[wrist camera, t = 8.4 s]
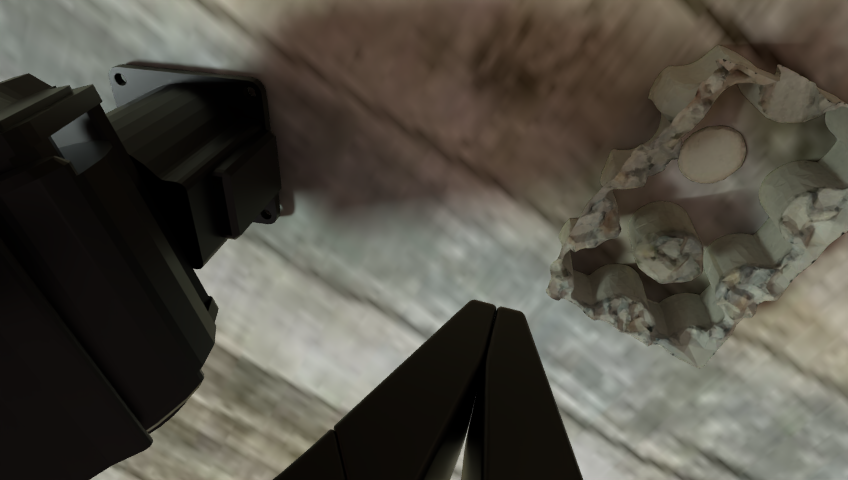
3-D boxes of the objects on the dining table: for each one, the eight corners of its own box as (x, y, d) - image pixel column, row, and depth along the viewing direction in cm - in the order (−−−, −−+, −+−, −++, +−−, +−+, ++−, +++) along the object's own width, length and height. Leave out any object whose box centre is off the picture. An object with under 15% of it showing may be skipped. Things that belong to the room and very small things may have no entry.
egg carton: (690, 14, 18) (727, 42, 14) (883, 113, 18) (963, 164, 15) (529, 250, 23) (528, 309, 20) (678, 319, 24) (701, 388, 21)
